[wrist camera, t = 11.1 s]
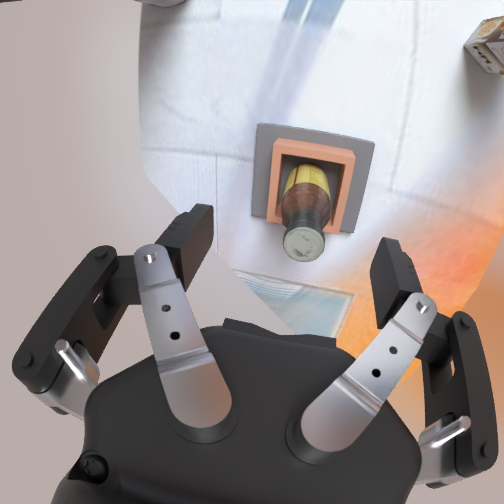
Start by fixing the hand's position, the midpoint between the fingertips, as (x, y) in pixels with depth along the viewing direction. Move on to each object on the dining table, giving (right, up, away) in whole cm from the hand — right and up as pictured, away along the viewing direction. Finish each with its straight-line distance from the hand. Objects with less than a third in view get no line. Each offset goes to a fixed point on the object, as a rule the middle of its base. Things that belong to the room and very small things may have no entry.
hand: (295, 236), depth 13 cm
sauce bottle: (+7, +11, +30) cm, 32 cm away
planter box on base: (+8, +11, +31) cm, 34 cm away
